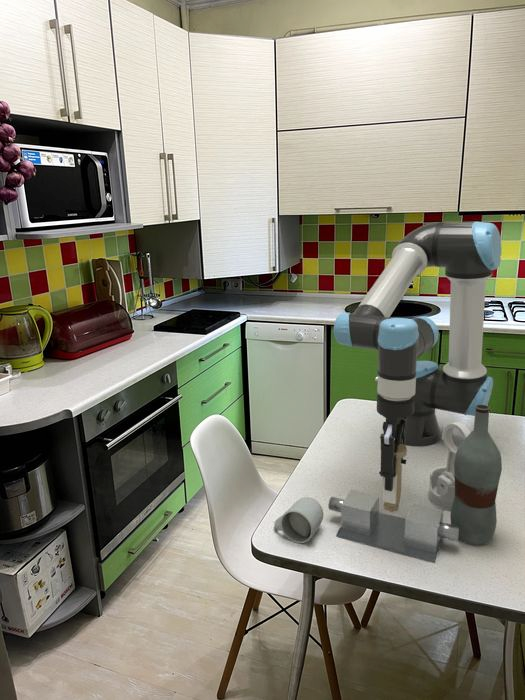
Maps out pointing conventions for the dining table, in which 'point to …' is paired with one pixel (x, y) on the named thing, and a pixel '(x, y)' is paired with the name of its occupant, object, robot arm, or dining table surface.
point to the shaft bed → (392, 526)
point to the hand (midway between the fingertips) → (391, 496)
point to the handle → (400, 454)
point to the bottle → (476, 483)
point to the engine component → (446, 470)
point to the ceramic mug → (301, 520)
